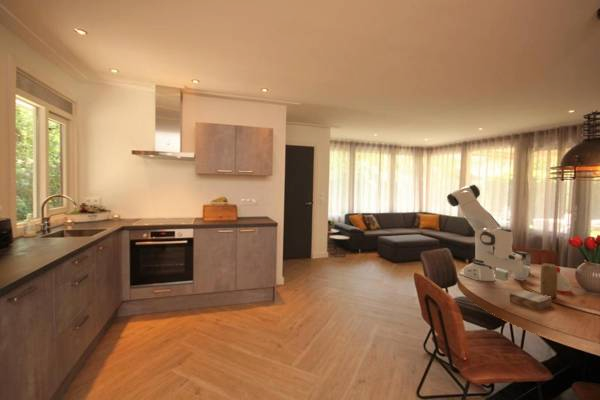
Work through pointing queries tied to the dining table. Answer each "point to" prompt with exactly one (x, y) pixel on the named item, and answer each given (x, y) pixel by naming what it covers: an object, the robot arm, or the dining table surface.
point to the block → (549, 279)
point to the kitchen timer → (562, 283)
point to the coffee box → (525, 258)
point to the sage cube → (501, 275)
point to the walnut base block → (530, 299)
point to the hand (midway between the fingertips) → (501, 275)
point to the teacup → (522, 273)
